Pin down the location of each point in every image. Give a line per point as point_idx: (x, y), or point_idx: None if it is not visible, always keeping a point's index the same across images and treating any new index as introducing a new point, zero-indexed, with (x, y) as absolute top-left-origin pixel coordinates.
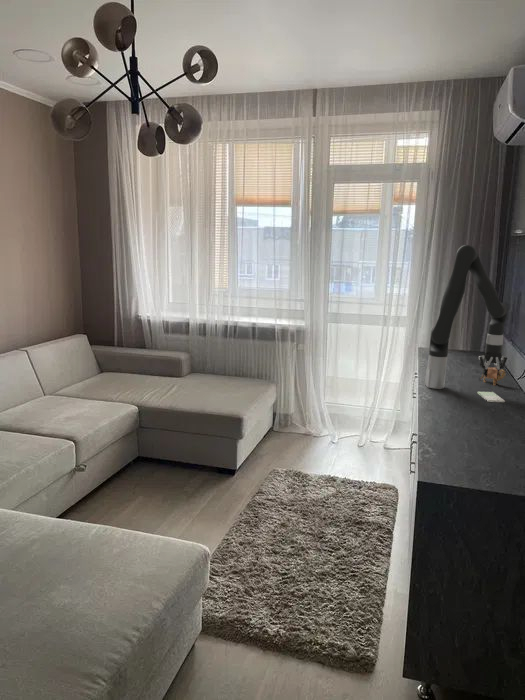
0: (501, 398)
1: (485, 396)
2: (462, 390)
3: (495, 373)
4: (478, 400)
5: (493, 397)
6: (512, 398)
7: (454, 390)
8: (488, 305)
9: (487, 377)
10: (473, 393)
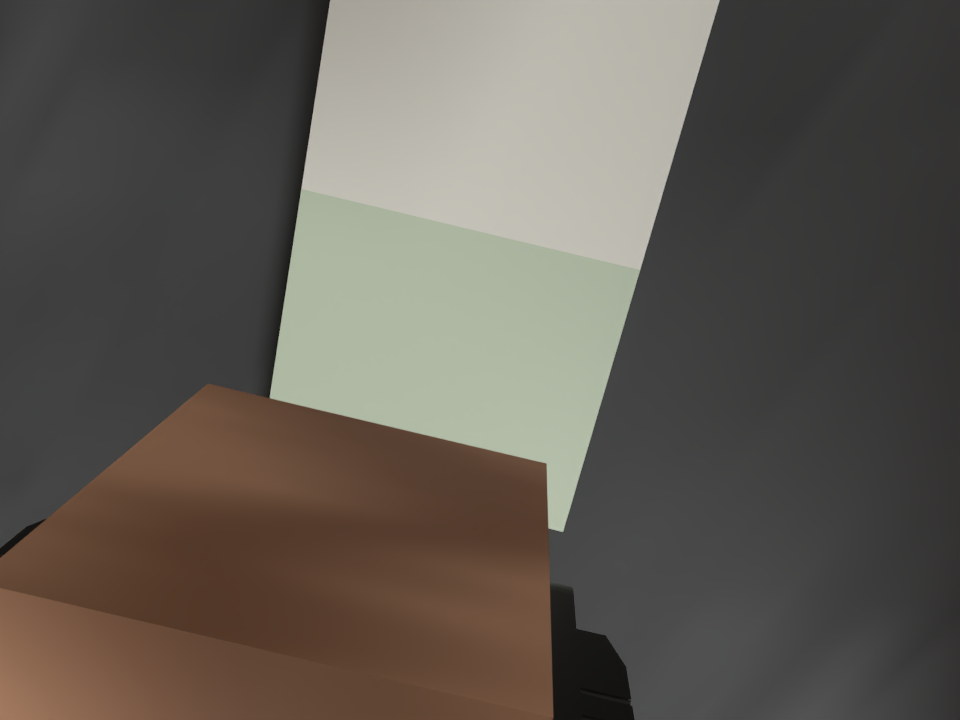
0: (332, 27)
1: (611, 211)
2: (740, 686)
3: (188, 493)
4: (885, 62)
5: (473, 120)
6: (37, 111)
7: (896, 708)
8: None
9: (544, 485)
10: (651, 507)
